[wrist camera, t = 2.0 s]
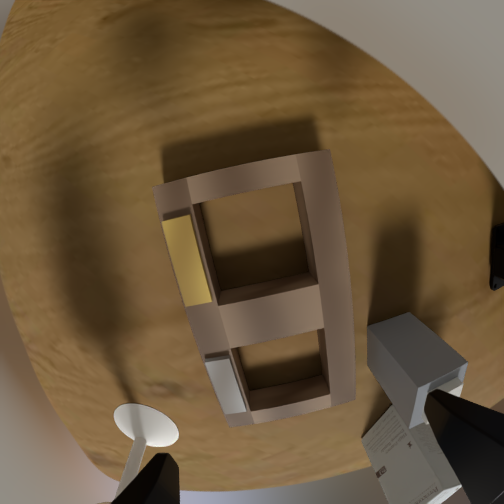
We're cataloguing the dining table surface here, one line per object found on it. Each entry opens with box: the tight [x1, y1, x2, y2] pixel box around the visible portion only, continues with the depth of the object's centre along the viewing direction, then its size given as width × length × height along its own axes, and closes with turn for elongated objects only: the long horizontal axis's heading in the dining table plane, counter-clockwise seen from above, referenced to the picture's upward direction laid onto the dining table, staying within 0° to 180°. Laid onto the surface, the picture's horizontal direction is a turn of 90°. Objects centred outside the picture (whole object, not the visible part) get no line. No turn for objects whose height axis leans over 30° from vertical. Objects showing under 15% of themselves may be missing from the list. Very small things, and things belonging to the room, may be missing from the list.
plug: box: [367, 312, 468, 429], centre depth 16 cm, size 4×4×9 cm
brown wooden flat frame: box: [152, 149, 356, 427], centre depth 17 cm, size 10×18×3 cm, turn 12°
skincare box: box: [362, 404, 462, 504], centre depth 17 cm, size 6×4×12 cm
